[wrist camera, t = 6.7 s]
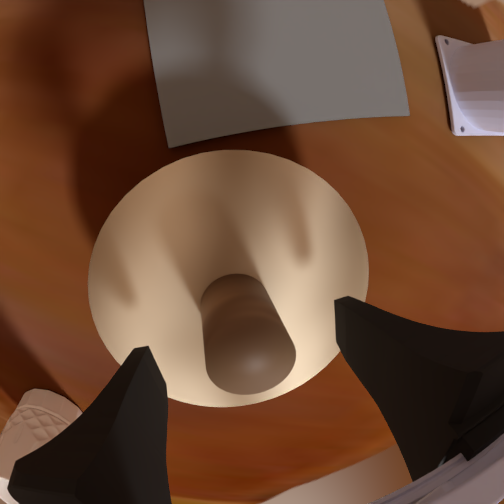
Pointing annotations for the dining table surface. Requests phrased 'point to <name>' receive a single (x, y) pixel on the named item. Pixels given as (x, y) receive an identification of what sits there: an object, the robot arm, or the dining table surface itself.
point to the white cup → (32, 429)
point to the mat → (271, 64)
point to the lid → (227, 275)
